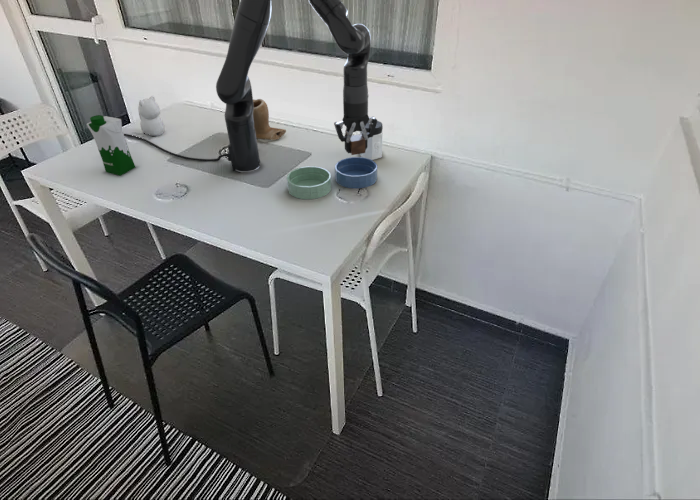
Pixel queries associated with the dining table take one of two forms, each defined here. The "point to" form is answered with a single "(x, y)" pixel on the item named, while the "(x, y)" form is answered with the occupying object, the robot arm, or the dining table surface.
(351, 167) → the blue bowl
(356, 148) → the walnut block
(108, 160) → the milk carton
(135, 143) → the dining table surface
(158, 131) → the cat figurine
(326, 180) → the celadon bowl
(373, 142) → the jar
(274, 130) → the tan boot
